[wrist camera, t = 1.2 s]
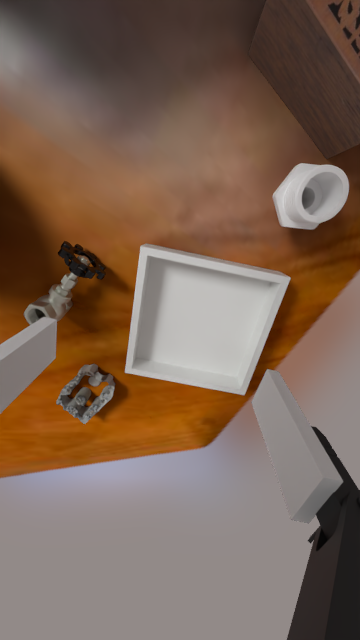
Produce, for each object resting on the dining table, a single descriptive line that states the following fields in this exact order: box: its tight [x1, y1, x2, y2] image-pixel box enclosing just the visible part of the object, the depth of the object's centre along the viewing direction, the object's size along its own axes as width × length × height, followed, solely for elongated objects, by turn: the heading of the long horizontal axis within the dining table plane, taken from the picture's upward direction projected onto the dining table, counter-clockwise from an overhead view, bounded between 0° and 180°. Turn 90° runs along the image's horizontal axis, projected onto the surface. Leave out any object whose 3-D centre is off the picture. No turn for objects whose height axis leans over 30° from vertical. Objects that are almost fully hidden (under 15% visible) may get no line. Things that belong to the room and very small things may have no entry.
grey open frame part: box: [56, 364, 115, 424], centre depth 42 cm, size 11×8×4 cm
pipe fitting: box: [273, 163, 349, 230], centre depth 27 cm, size 6×7×8 cm
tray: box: [125, 243, 291, 395], centre depth 36 cm, size 20×20×4 cm
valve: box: [24, 241, 106, 325], centre depth 33 cm, size 7×7×12 cm
